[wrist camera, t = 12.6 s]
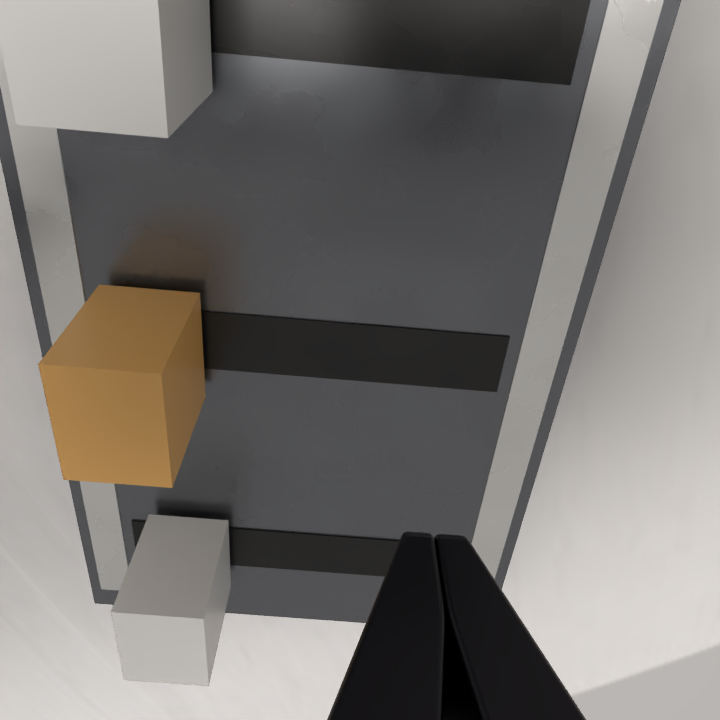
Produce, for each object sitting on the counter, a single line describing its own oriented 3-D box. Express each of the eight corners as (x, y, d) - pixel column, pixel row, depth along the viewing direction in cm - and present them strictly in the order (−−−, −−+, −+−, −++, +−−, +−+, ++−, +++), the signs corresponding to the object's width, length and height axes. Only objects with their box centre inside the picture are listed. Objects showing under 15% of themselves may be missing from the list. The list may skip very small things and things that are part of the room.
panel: (482, 590, 29) (488, 633, 28) (111, 563, 29) (94, 604, 27) (694, -164, 15) (735, -175, 13) (-35, -239, 15) (-90, -259, 13)
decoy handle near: (212, 91, 16) (167, 137, 13) (93, 80, 16) (16, 124, 12) (205, -92, 14) (150, -95, 11) (69, -106, 14) (-30, -112, 10)
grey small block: (230, 586, 26) (208, 686, 22) (157, 581, 26) (124, 680, 22) (228, 520, 24) (203, 618, 20) (148, 514, 24) (110, 612, 20)
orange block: (205, 396, 21) (172, 488, 17) (114, 388, 21) (63, 479, 17) (199, 293, 19) (161, 373, 15) (99, 284, 19) (38, 364, 15)
